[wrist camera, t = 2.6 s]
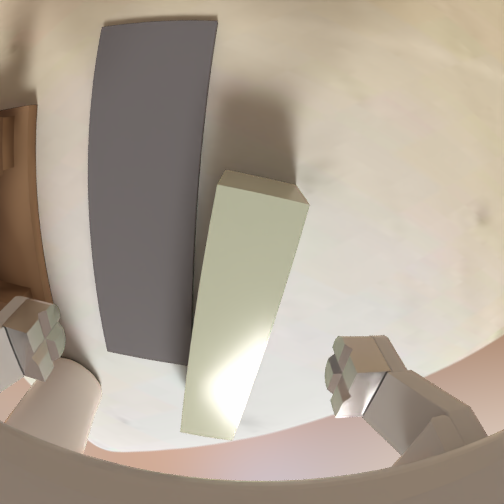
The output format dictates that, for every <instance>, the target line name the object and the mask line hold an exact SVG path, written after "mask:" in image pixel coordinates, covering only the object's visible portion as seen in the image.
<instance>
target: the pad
mask: <svg viewBox="0 0 504 504" xmlns="http://www.w3.org/2000/svg"><path fill="white" fill-rule="evenodd" d="M217 25H218V22H217V21H197V20H185V21H156V22H142V23H131V24H122V25H114V26H107V27H102V30H101V35H100V40H99V46H98V52H97V58H96V65H95V72H94V80H93V89H92V99H91V110H90V124H89V145H88V200H89V222H90V236H91V248H92V258H93V267H94V276H95V283H96V291H97V297H98V304H99V310H100V316H101V321H102V327H103V332H104V337H105V342H106V347H107V351H109V352H113V353H118V354H123V355H128V356H133V357H138V358H144V359H149V360H155V361H161V362H167V363H174V364H180V365H187V366H188V360H189V353H190V345H191V338H192V297H193V269H194V247H195V229H196V213H197V198H198V185H199V173H200V162H201V151H202V140H203V131H204V121H205V112H206V104H207V96H208V88H209V80H210V72H211V65H212V58H213V51H214V44H215V38H216V32H217Z"/></svg>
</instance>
